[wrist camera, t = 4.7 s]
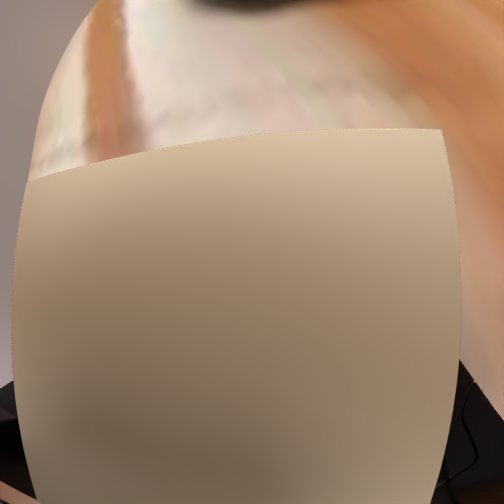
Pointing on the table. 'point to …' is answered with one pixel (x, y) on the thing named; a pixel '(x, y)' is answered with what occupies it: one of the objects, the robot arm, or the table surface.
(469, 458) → the robot arm
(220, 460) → the birch pillar
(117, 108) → the table surface
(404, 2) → the table surface
